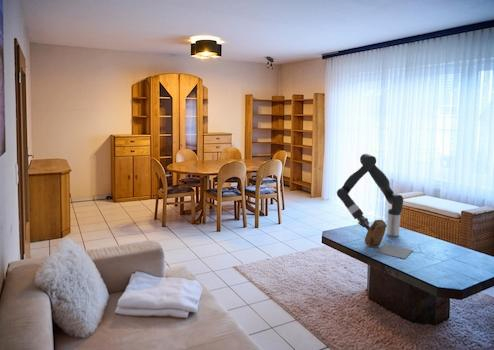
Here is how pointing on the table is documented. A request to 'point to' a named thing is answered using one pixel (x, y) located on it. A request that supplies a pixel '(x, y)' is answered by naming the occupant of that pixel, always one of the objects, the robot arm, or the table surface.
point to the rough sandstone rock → (375, 233)
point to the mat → (394, 251)
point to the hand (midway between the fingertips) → (370, 230)
